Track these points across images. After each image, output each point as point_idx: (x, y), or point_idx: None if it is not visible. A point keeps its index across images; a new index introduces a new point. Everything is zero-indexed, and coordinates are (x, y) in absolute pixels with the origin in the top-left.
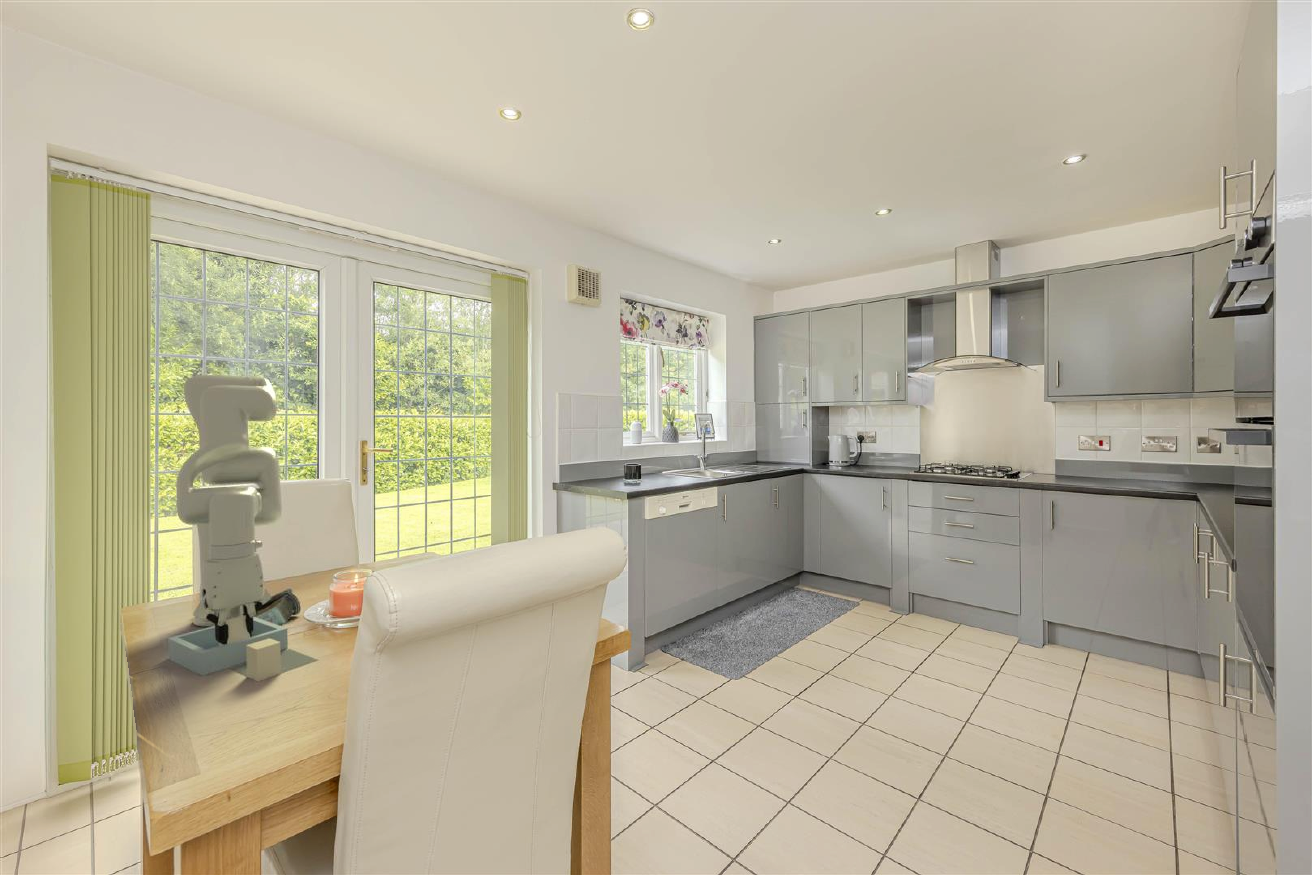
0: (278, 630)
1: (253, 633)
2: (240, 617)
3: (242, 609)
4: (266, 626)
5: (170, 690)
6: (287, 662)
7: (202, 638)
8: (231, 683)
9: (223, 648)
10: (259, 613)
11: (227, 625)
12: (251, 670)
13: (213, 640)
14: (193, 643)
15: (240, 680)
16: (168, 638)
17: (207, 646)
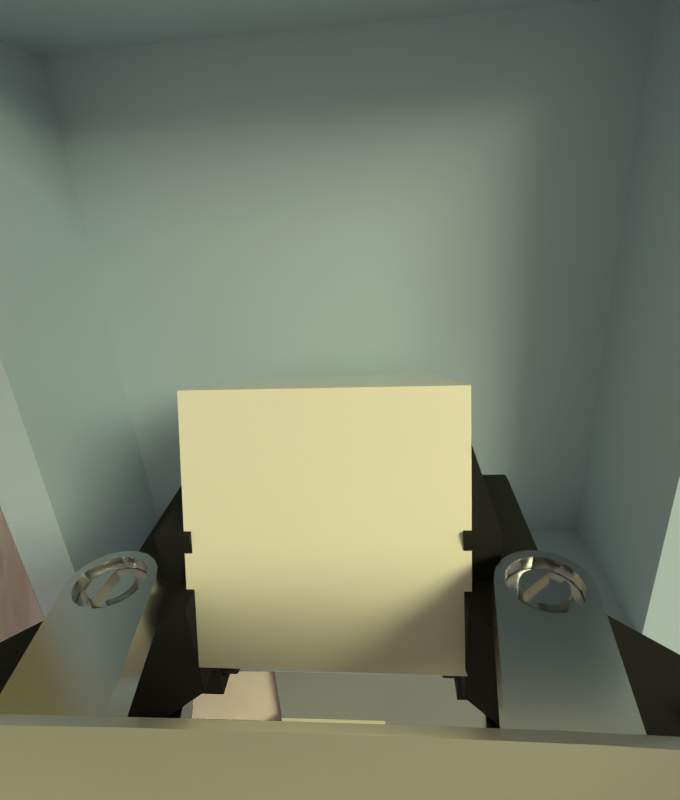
0: None
1: (662, 113)
2: (397, 661)
3: (496, 646)
4: (675, 440)
5: (7, 580)
6: (470, 721)
7: (188, 4)
8: (221, 705)
9: None
10: None
11: (231, 671)
12: None
13: (310, 12)
14: (115, 19)
15: (256, 707)
16: None
17: (263, 29)
